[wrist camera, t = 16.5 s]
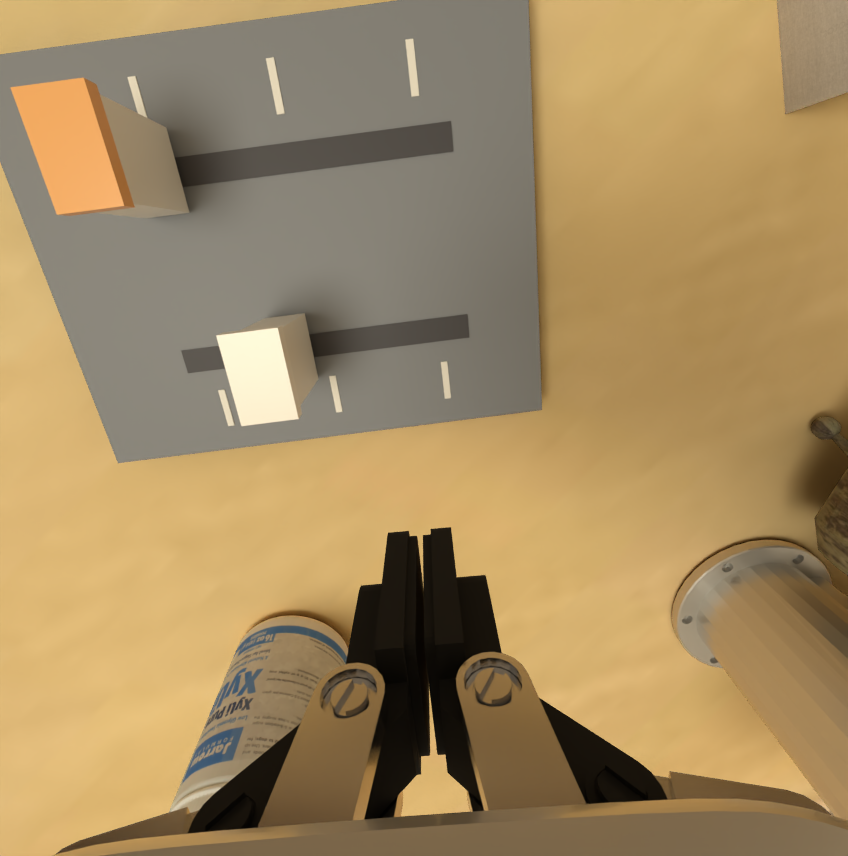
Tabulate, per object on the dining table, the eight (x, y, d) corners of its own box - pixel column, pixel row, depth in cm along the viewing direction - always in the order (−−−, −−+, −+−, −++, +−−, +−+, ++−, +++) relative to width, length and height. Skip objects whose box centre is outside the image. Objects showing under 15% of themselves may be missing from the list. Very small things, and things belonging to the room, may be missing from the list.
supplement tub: (258, 595, 38) (173, 794, 24) (369, 629, 39) (349, 834, 26) (225, 679, 41) (133, 899, 27) (330, 708, 42) (293, 928, 29)
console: (518, 2, 25) (528, -19, 23) (534, 400, 33) (542, 410, 31) (-7, 73, 25) (-41, 59, 23) (134, 450, 33) (117, 463, 31)
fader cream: (307, 309, 28) (277, 327, 21) (322, 381, 29) (298, 419, 23) (260, 315, 28) (216, 335, 21) (277, 387, 29) (241, 426, 23)
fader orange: (168, 122, 24) (83, 77, 18) (194, 216, 26) (124, 205, 19) (114, 129, 24) (10, 87, 18) (143, 222, 26) (56, 214, 19)
